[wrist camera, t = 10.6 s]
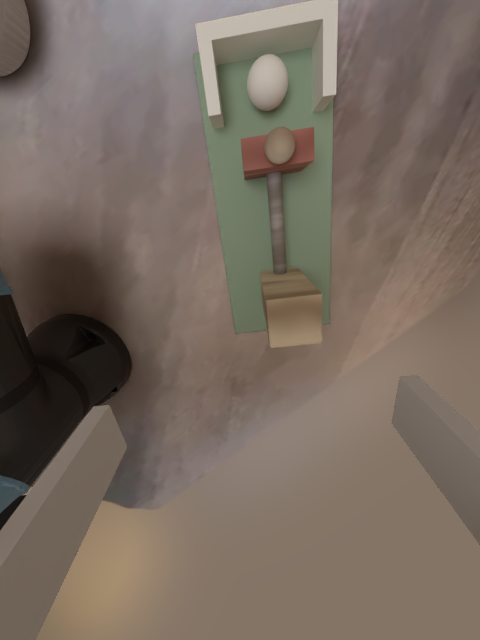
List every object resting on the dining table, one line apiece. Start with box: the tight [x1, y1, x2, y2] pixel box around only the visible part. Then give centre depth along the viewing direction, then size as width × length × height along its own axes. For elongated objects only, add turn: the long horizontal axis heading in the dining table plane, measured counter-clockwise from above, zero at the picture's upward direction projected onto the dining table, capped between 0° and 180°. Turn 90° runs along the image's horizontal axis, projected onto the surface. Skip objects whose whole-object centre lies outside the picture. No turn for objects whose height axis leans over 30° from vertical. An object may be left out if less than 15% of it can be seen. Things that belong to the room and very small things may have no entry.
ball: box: [247, 54, 288, 111], centre depth 24 cm, size 4×4×4 cm
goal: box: [195, 0, 338, 129], centre depth 24 cm, size 6×12×4 cm, turn 97°
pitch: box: [193, 48, 333, 334], centre depth 31 cm, size 32×14×1 cm, turn 7°
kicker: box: [241, 127, 322, 348], centre depth 26 cm, size 18×6×12 cm, turn 7°
